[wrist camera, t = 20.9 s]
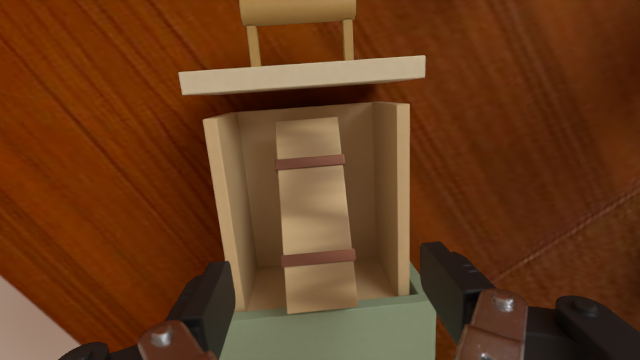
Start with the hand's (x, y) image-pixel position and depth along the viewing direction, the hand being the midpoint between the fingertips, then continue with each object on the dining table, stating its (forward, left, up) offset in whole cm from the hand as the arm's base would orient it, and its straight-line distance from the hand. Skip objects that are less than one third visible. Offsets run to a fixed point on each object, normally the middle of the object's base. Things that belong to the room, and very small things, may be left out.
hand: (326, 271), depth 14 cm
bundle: (+6, 0, -6) cm, 9 cm away
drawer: (-3, 0, -15) cm, 15 cm away
